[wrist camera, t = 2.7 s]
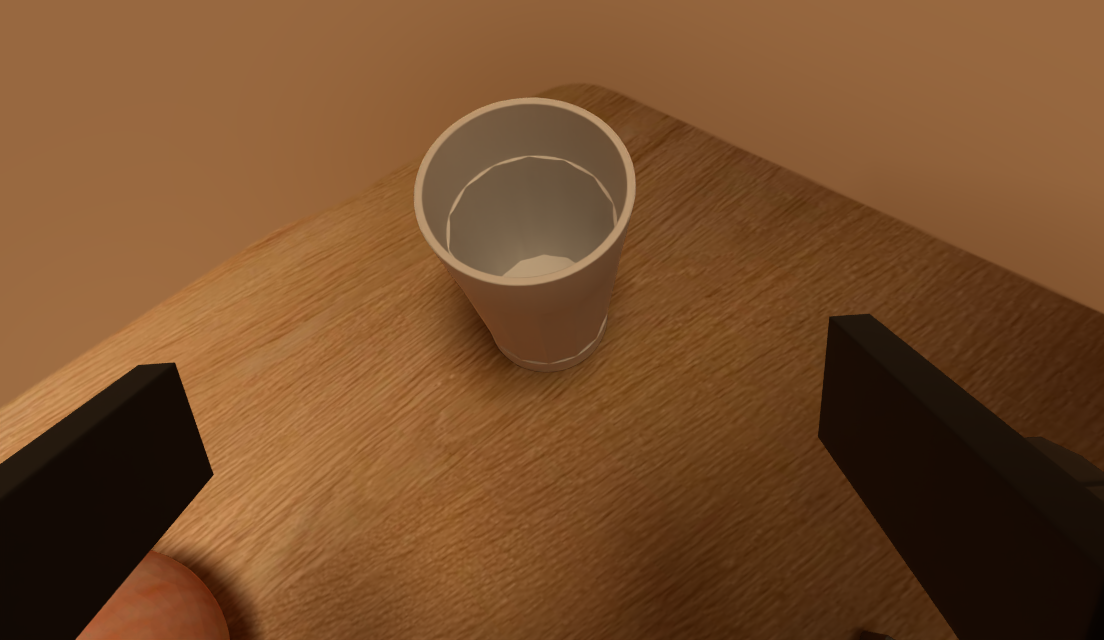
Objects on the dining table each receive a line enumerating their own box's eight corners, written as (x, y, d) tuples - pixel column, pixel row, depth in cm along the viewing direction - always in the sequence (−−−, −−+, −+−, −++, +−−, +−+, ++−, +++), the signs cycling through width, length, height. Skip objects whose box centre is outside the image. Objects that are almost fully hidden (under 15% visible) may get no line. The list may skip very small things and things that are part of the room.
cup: (443, 324, 34) (368, 199, 22) (541, 224, 36) (516, 64, 24) (555, 419, 31) (532, 330, 20) (653, 306, 33) (681, 169, 22)
